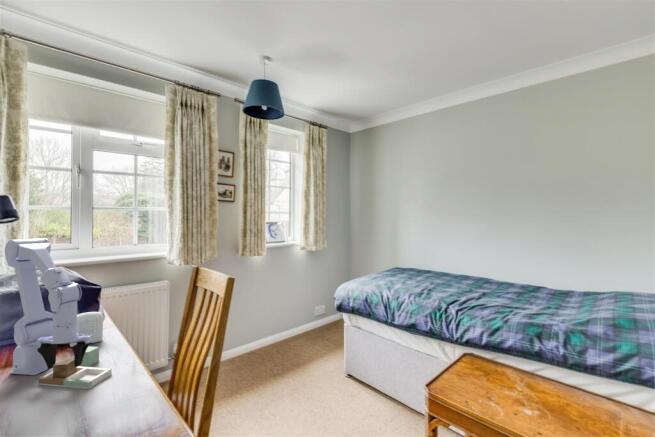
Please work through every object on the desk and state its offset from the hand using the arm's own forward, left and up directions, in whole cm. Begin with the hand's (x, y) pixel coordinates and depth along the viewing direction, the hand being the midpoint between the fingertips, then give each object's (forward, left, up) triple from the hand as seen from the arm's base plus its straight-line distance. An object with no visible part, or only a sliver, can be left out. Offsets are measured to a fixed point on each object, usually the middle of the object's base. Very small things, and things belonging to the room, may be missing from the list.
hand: (65, 366), depth 92 cm
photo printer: (-17, +24, -4) cm, 30 cm away
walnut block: (0, 0, -4) cm, 4 cm away
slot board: (+4, 0, -4) cm, 6 cm away
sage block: (-1, +9, -4) cm, 10 cm away
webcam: (-27, +22, -4) cm, 35 cm away
